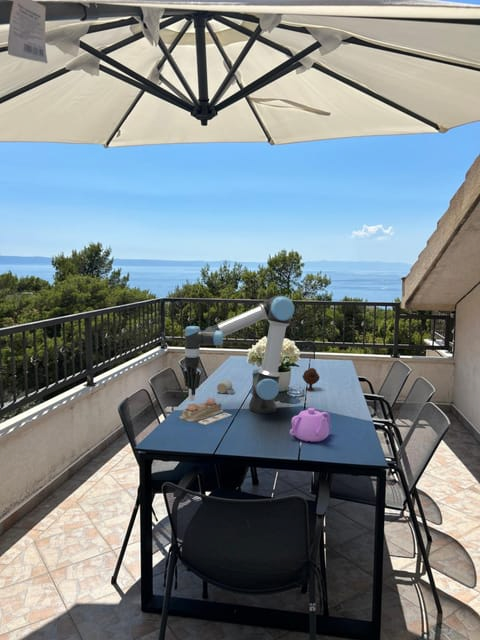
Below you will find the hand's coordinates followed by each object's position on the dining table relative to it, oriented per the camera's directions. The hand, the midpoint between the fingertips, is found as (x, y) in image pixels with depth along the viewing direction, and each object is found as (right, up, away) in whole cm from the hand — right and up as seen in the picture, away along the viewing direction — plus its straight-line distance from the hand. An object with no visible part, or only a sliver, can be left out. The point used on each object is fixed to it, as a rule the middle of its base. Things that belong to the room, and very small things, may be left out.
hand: (191, 400), depth 240 cm
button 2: (+9, -5, +11) cm, 15 cm away
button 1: (0, -6, +1) cm, 6 cm away
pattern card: (+12, -10, 0) cm, 16 cm away
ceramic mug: (+17, -4, +52) cm, 54 cm away
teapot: (+59, -13, -27) cm, 66 cm away
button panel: (+5, -9, +6) cm, 12 cm away
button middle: (+5, -7, +6) cm, 10 cm away
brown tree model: (+71, -4, +60) cm, 93 cm away
